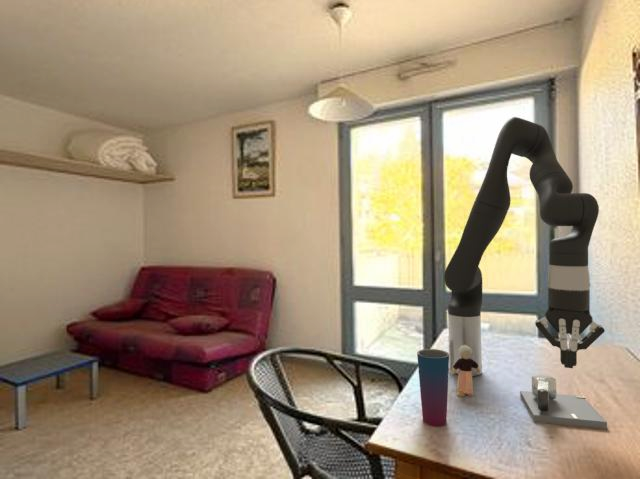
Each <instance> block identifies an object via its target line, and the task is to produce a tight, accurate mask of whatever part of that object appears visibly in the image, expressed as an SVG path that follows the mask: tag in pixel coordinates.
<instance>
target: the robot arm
mask: <svg viewBox="0 0 640 479" xmlns="http://www.w3.org/2000/svg"><path fill="white" fill-rule="evenodd" d="M491 154H492V155H491V159H490V161H489V164H488V167H487V170H486V173H485V175H484V177H483V178H484V179H483V180H482V183H481V185H480V188H479V190H478V193H477V195H476V198H475V200H474V201H473V205H472V207H471V209H470V213H469V216H468V218H467V221H466V224H465V226H464V229H463V231H462V235H461V238H460V240H459V242H458V245H457V247H456V249H455V251H454V253H453V255H452V257H451V259H450V261H449V262H448V263H447V266H446V268H445V270H444V273H443V280H444V283H445V286H446V288H448V290H449V291H451V293H450V294H451V296H450V300H449V302H448V305H447V318H448V321H447V324H448V353H449V373H450V374H451V371H452V368H453V366H454V364H455V363H456V362H457V360H458V359H461V358H462V357H461V355H460V354H459V348H460V347H461V346H463V345H466V346H469V347H470V348H471V349H472V351H473V352H472V354H471V357H470V358H469V359H472V360H474V361H475V362H476V363H477V364H478V367H479V369H480V373H477V372H476V369H475V368H472V377H473V376H474V377H475V376H480V375H481V374H482V373H483V361H482V360H483V357H482V355H483V352H482V320H481V319H482V316H481V314H482V313H481V311H482V310H481V309H482V305H483V275H482V271H481V269H480V267H479V266H480V262H481V261H482V257H483V255H484V253H485V251H486V250H487V248H488V246H490V244H491V243H492V241H493V240H494V238H495V237H496V235H497V234H498V233H499V231H500V229H501V227H502V225H503V224H504V221H505V219H506V216H507V214H508V212H509V210H510V207H511V192H510V186H509V181H508V180H509V179H508V167H509V163H510V159H511V156H512V155H515V156H517V157H521V158H526V159H528V160H529V161H530V162H531V163H532V165H530V169H529V179H530V182H531V185H532V186H533V188H534V190H535V191H536V193H537V195H538V201H539V216H540V219H541V221H543V223H545V224H547V226H550V227H572V228H571V230H570V232H569V233H568V235H566V236H560V237H557V238H553V239H551V240H550V242H549V245H548V247H549V249H548V255H549V256H548V260H549V261H548V263H549V264H548V271H547V272H548V274H547V311H546V312H545V313H544V317H541V318H540V319H537V320H535V327H537V329H538V331H539V332H540V333H541V334H542V335H543V336H544V337H545V339H546V340H547V342H549V344H551V345H552V347H557V348H559V350H560V358H559V360H560V363H561V365H563V366H564V368H566V369H572V370H573V368H574V367H576V366H577V365H578V364H577V360H578V359H577V352H578V351H580V350H587V349H588V348H589V347H590V346H591V345H592V344H593V343H594V342H595V341H596V340H597V339H599V338H600V337H601V336H602V335H603V334H604V333H605V328H604V327H603V326H602V325H600V324H598V323H597V322H595V321H594V320H593V316H592V314H591V312H590V311H591V310H590V309H591V308H590V306H591V305H590V303H591V302H590V300H591V298H590V296H591V294H590V291H591V290H590V288H591V282H590V280H591V279H590V276H591V275H590V270H589V246H590V242H591V240H592V236H593V231H594V228H595V225H596V223H597V220H598V216H599V213H600V206H599V202H598V201H597V199H596V198H595V196H593V194H591V193H586V192H581V193H580V192H579V193H577V192H576V193H574V192H573V188H574V186H573V185H574V184H573V182H572V180H571V179H570V176H568V174H567V173H566V171H565V169H564V168H563V167H562V166H561V164H560V162H559V161H558V159H557V157H556V153H555V151H554V149H553V145H552V142H551V139H550V137H549V133H548V131H547V130H546V128H545V127H544V126H542V125H541V124H539V123H536V122H533V121H529V120H527V119H524V118H520V117H516V116H512V117H510V118H509V119H507V120H506V121H505V122H504V124H503V125H502V127H501V129H500V131H499V133H498V135H497V139H496V141H495V144H494V148H493V151H492V153H491ZM549 324H550V325H551V327H553V329H554V330H555V332H556V333H558V339H556V337H555V336H554V335H553V334H552V333H551V332H550V330H549V329H548V328H549ZM588 327H589V328H588ZM587 328H588V331H589V332H588V333H587V334H586V335H585V336H584V337H583V338H582V339H581V340H580V341H579V335H581V334H582V333H583V332H585V331H586V329H587ZM567 335H569V341H567V340H568V338H567V337H568V336H567ZM568 347H569V348H568ZM455 374H456V375H458V374H459V369H457V370H456V372H455ZM455 374H454V375H455Z"/></svg>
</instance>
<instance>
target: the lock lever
mask: <svg viewBox="0 0 640 479" xmlns="http://www.w3.org/2000/svg"><path fill="white" fill-rule="evenodd" d="M531 392H532V395H534V396H535V397H538V409H539V410H541V411H548V410H549V400H552V399H556V394H557V380H556V378H554V377H553V376H549V375H545V374H533V375H531Z"/></svg>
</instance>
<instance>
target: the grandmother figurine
mask: <svg viewBox="0 0 640 479" xmlns="http://www.w3.org/2000/svg"><path fill="white" fill-rule="evenodd" d="M472 352H473V351H472V349H471V348H470V347H469V346H466V345H463V346H461V347H460V348H459V354H460V355H461V357H462V358H461V359H458V360H457V362H456V363H455V364H454V366H453V368H452V371H451V373H450V375H452V376H455V372H456V370H457V369H459V374H457V375H458V376H457V391H456V396H458V397H465V396H469V397H474V396H475V393H474V392H473V376H472V368H475V369H476V372H477V373H480V369H479V367H478V364H477V363H476V362H475V361H474V360H472V359H469V358H470V357H471V354H472Z"/></svg>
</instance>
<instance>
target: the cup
mask: <svg viewBox="0 0 640 479" xmlns="http://www.w3.org/2000/svg"><path fill="white" fill-rule="evenodd" d="M416 355H417V356H416V357H417V365H418V366H417V368H418V377H419V379H418V380H419V381H418V382H419V390H420V391H419V392H420V402H421V414H422V421H423V423H424V424H426V425H427V426H431V427H444V426H445V425H446V424H447V417H448V416H447V415H448V395H449V394H448V391H449V372H450V370H449V351H445V350H442V349H436V348H425V349H419V350H417V352H416Z"/></svg>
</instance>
